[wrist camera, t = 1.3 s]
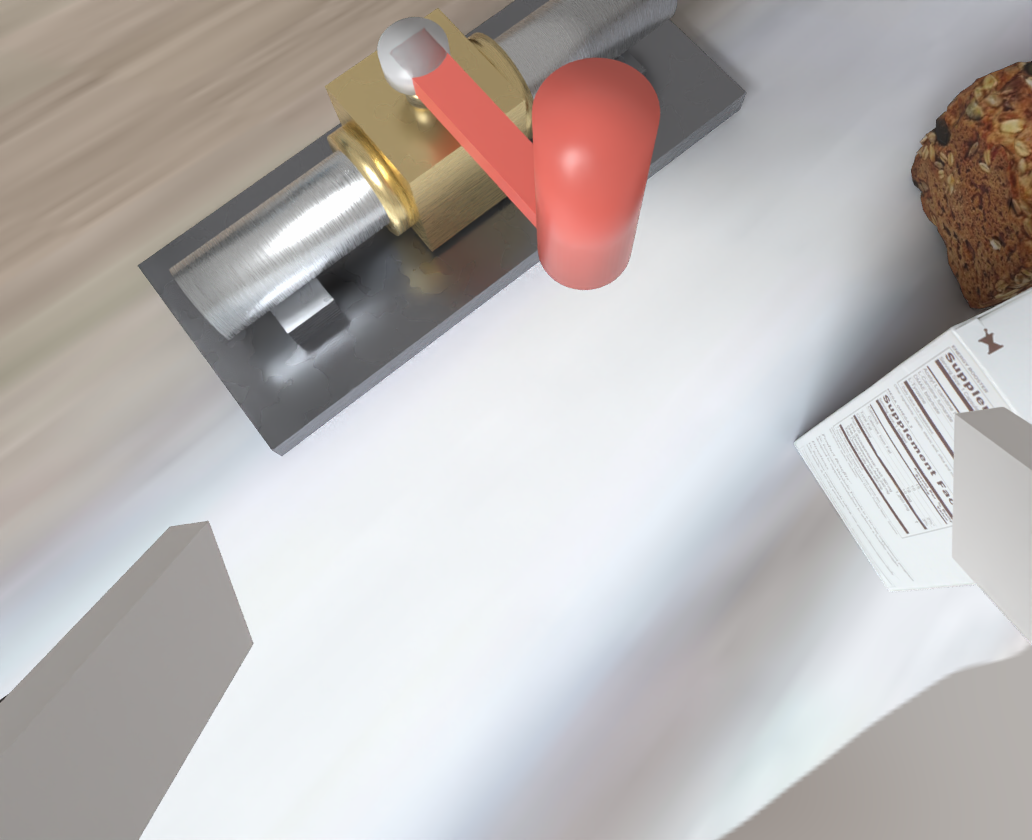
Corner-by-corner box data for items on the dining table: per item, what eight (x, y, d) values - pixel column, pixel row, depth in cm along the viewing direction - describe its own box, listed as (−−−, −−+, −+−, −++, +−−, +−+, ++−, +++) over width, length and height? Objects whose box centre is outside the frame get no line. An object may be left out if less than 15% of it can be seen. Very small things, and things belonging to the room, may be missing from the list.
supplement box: (887, 597, 39) (1125, 585, 23) (787, 442, 41) (939, 329, 25) (1042, 508, 40) (1382, 434, 24) (936, 361, 42) (1179, 199, 26)
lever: (362, 67, 36) (299, -114, 27) (431, 20, 36) (391, -173, 27) (578, 308, 32) (587, 192, 23) (650, 252, 33) (687, 118, 24)
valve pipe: (281, 456, 42) (195, 404, 32) (150, 276, 46) (33, 178, 35) (740, 108, 46) (793, -35, 36) (591, -35, 50) (601, -204, 39)
